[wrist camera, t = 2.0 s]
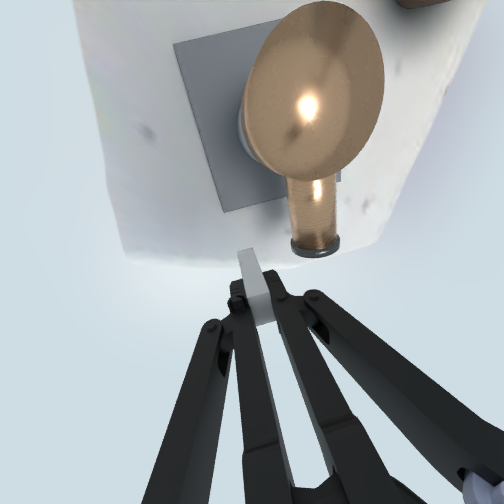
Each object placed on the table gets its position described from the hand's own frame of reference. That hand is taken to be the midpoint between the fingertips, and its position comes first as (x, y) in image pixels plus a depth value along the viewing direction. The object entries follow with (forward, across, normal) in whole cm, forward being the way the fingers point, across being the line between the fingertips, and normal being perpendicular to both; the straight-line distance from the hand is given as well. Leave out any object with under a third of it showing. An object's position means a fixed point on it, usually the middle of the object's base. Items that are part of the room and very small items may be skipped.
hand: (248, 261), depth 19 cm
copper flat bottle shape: (+11, +10, +6) cm, 17 cm away
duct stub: (+22, +12, +11) cm, 28 cm away
